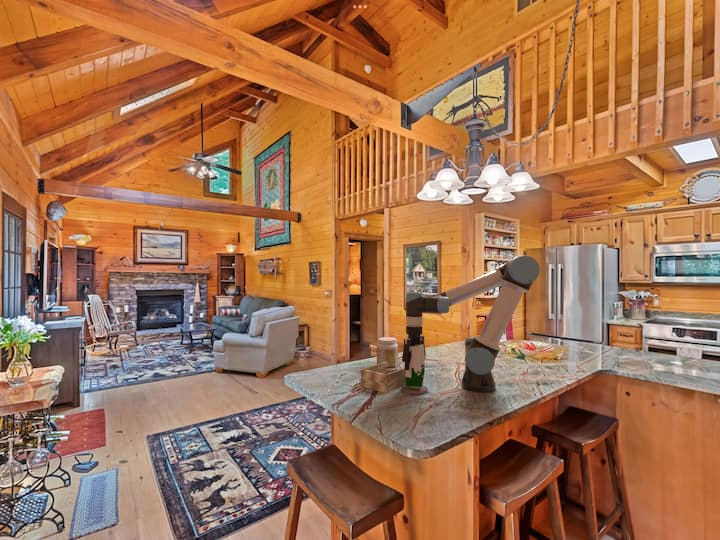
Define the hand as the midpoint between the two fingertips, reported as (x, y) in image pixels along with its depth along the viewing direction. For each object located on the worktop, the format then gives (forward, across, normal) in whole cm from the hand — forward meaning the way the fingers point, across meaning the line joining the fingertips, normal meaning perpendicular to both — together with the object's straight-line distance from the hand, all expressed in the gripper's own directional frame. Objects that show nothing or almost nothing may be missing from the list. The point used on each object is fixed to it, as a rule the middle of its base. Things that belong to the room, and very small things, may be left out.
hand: (414, 374), depth 160 cm
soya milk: (+5, 0, 0) cm, 5 cm away
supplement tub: (+7, -22, -32) cm, 40 cm away
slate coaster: (+7, 0, 0) cm, 7 cm away
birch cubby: (+7, +2, -15) cm, 17 cm away
